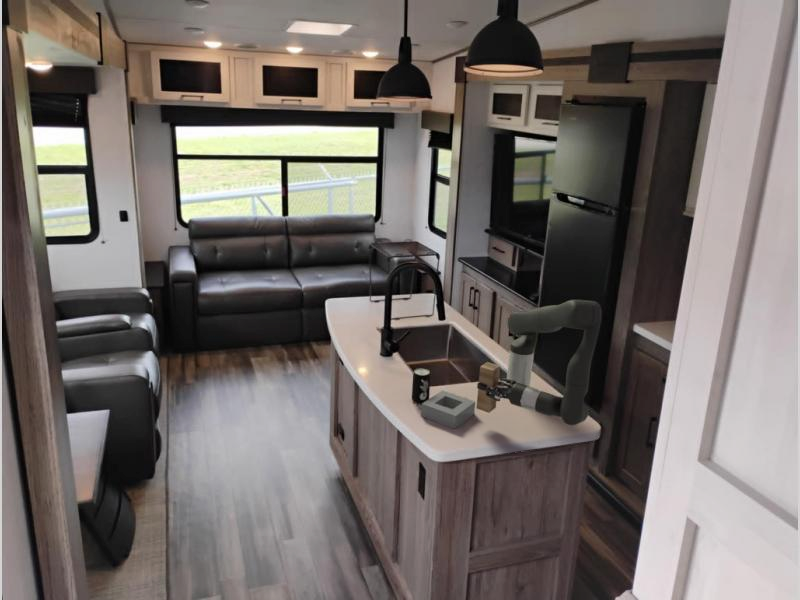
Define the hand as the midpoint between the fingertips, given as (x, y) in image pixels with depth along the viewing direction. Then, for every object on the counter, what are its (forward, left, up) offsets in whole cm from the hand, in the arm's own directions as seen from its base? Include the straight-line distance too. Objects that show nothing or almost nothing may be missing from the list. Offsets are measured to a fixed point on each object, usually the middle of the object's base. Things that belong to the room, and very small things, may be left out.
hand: (481, 382), depth 217 cm
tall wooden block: (0, +3, -9) cm, 9 cm away
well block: (+2, -11, -16) cm, 19 cm away
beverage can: (-1, -25, -16) cm, 30 cm away
